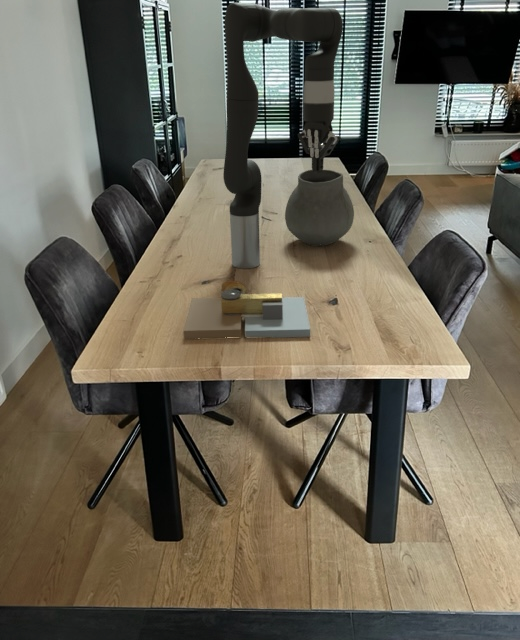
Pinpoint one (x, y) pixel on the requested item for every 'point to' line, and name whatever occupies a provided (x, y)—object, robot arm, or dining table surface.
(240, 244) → the robot arm
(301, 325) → the door mock-up
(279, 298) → the swing bar
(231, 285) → the pastry
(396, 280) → the dining table surface
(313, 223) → the ceramic pot
